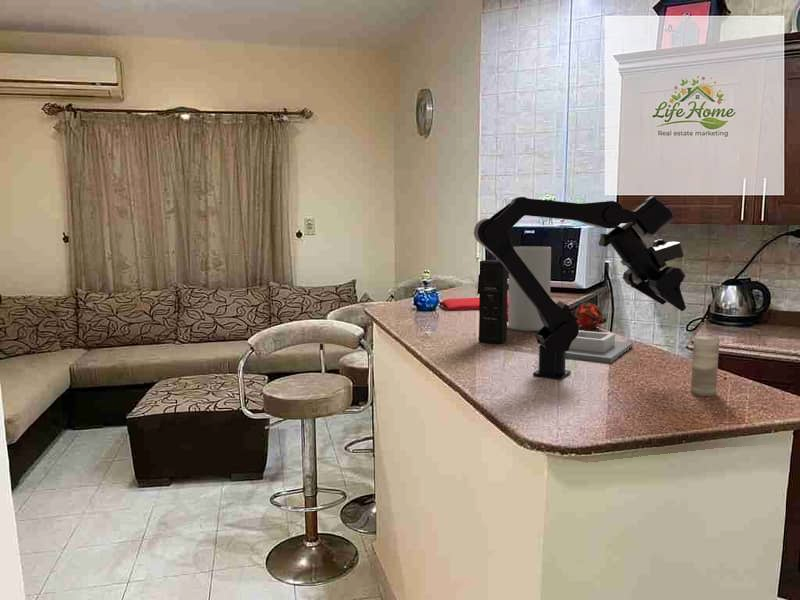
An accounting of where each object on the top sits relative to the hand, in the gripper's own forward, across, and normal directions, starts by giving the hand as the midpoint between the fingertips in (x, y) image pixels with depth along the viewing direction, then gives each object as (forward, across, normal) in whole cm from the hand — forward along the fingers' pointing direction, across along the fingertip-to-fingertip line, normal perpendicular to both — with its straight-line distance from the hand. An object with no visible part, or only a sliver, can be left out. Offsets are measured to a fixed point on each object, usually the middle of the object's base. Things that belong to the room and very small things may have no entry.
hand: (673, 306), depth 132 cm
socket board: (+5, +22, +18) cm, 29 cm away
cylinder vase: (0, +55, +24) cm, 60 cm away
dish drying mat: (-1, +101, +27) cm, 105 cm away
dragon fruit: (+12, +53, +10) cm, 55 cm away
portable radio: (-9, +36, +36) cm, 52 cm away
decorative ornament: (-2, +72, +28) cm, 78 cm away
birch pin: (+11, -16, +10) cm, 22 cm away
